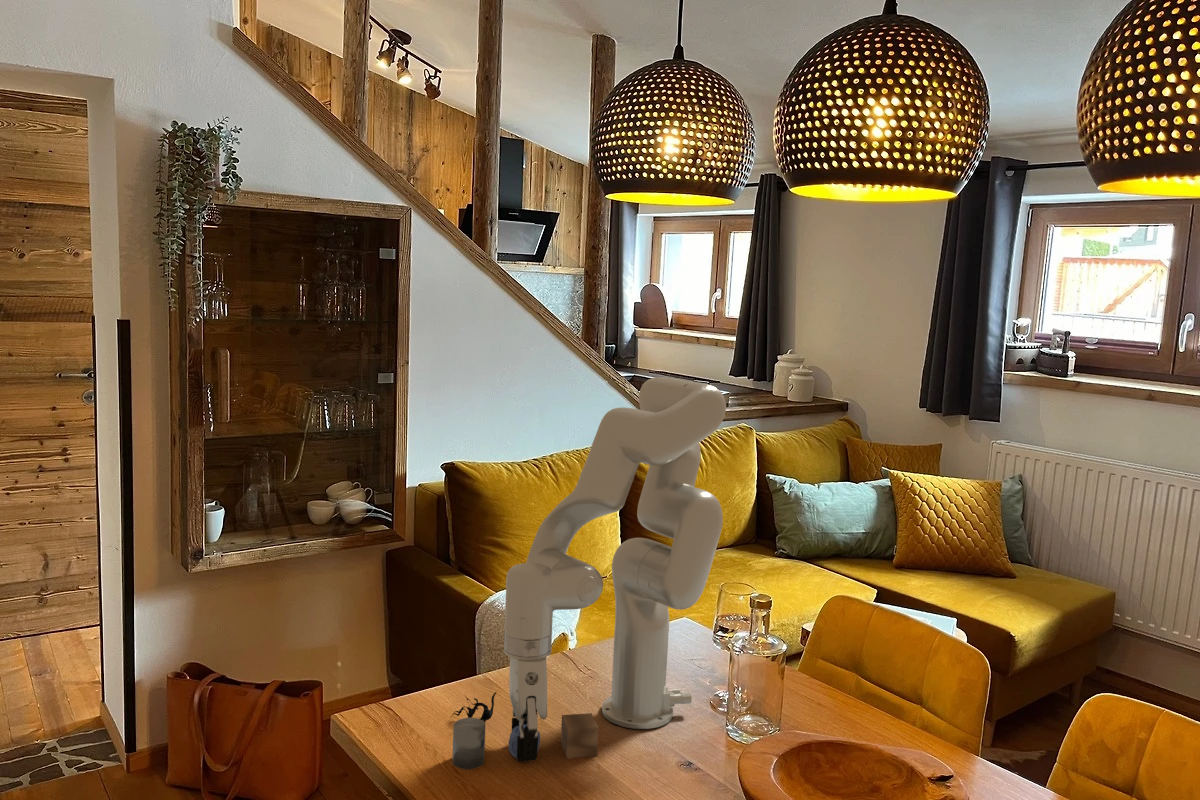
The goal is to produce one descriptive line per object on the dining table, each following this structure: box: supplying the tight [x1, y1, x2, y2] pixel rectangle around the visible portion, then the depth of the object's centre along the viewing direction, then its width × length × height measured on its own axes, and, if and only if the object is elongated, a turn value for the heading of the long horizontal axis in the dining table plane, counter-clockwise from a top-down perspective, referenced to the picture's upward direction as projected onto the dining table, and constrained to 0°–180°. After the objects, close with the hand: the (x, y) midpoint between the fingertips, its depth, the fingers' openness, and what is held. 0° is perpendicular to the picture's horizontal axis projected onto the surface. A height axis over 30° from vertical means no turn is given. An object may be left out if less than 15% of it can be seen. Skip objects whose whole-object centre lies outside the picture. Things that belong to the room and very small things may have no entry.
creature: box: [449, 691, 497, 723], centre depth 160 cm, size 8×5×8 cm
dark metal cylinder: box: [451, 717, 486, 770], centre depth 148 cm, size 5×5×6 cm
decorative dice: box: [508, 725, 541, 759], centre depth 151 cm, size 4×4×4 cm
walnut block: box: [560, 712, 599, 760], centre depth 153 cm, size 5×5×5 cm
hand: (523, 749), depth 151 cm, fingers closed on decorative dice, 5 cm apart
